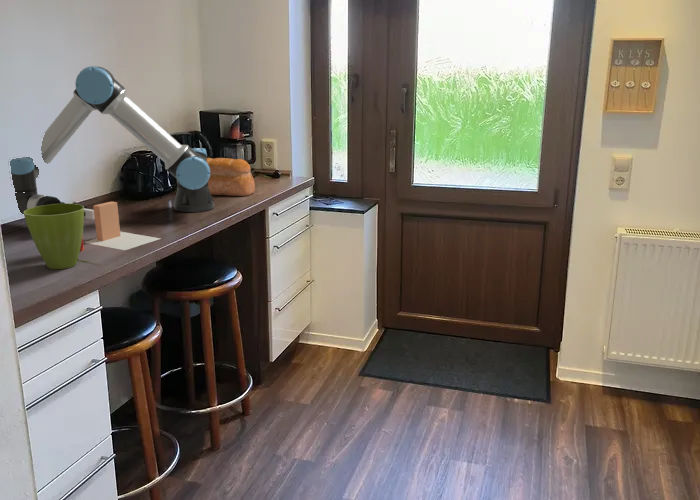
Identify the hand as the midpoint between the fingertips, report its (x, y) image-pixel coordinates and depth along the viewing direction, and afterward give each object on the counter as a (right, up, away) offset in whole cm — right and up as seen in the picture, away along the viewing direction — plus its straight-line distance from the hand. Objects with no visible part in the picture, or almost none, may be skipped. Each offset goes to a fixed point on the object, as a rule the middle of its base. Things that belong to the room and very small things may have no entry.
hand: (94, 214), depth 204 cm
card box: (+5, -7, -1) cm, 9 cm away
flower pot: (+1, -16, -26) cm, 30 cm away
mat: (+10, -9, -3) cm, 14 cm away
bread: (+27, +13, +73) cm, 79 cm away
